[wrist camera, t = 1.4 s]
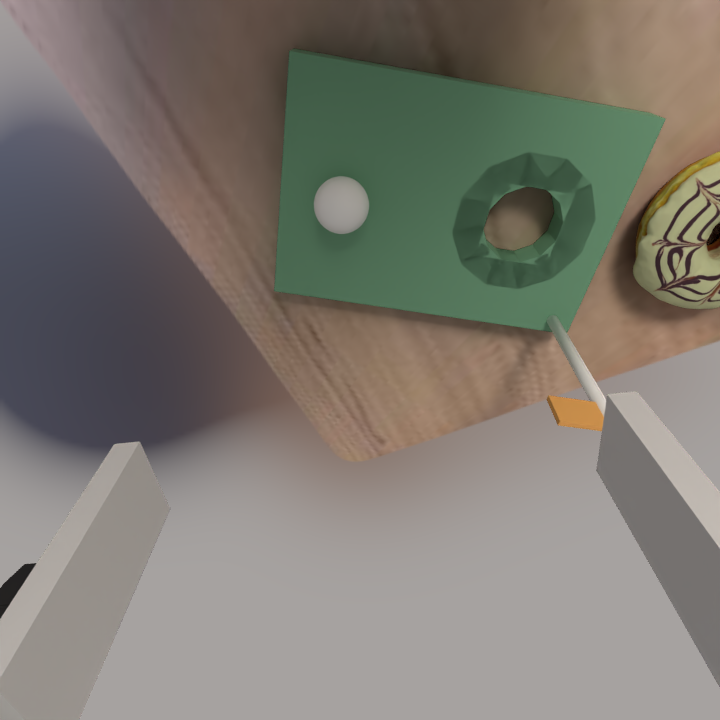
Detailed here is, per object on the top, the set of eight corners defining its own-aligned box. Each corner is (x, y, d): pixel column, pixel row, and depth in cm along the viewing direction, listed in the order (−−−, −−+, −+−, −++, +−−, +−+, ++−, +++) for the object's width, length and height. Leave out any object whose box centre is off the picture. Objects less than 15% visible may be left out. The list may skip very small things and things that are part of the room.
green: (293, 48, 30) (243, 75, 18) (650, 112, 31) (812, 175, 20) (278, 278, 38) (237, 396, 27) (558, 320, 40) (633, 448, 28)
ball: (319, 165, 31) (314, 181, 29) (373, 174, 32) (373, 190, 29) (313, 218, 33) (308, 237, 31) (364, 226, 34) (364, 246, 31)
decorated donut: (604, 290, 38) (624, 315, 35) (654, 138, 32) (683, 153, 29) (743, 293, 38) (775, 319, 35) (820, 142, 32) (867, 157, 29)
